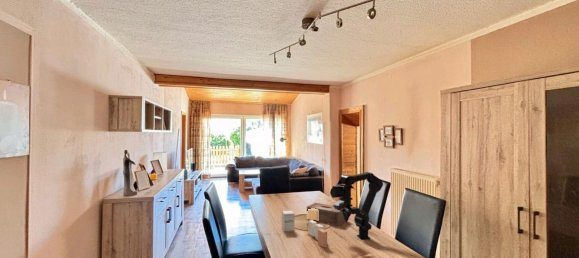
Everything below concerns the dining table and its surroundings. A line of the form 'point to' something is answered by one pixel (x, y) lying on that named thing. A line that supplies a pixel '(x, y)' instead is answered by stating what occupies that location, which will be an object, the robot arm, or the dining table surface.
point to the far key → (311, 227)
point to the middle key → (317, 226)
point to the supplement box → (288, 220)
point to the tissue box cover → (328, 213)
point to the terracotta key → (322, 237)
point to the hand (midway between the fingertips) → (346, 221)
